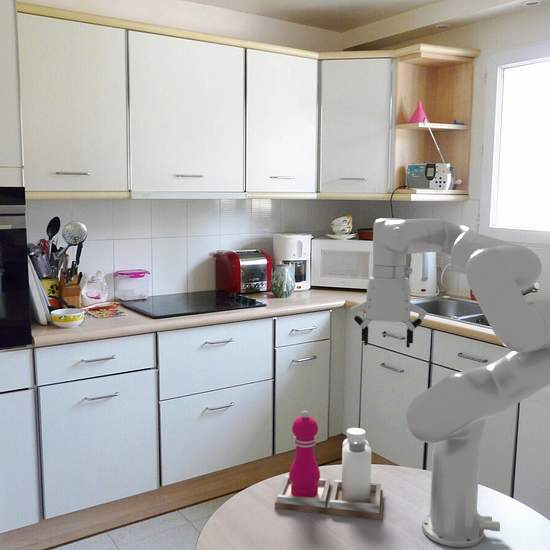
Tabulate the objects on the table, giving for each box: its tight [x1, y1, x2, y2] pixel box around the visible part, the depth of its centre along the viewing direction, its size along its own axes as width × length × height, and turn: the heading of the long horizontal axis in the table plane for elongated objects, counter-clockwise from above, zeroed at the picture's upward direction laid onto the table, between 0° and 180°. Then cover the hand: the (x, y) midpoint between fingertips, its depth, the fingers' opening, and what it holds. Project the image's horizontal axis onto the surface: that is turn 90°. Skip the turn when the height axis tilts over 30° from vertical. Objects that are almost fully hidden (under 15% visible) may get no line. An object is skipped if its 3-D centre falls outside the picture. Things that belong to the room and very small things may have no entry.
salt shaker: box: [341, 439, 372, 503], centre depth 144 cm, size 7×7×14 cm
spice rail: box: [274, 474, 384, 520], centre depth 146 cm, size 24×11×3 cm, turn 79°
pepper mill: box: [288, 410, 321, 498], centre depth 146 cm, size 7×7×20 cm
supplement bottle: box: [342, 427, 370, 448], centre depth 157 cm, size 7×7×13 cm
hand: (386, 345), depth 146 cm, fingers open, 9 cm apart
